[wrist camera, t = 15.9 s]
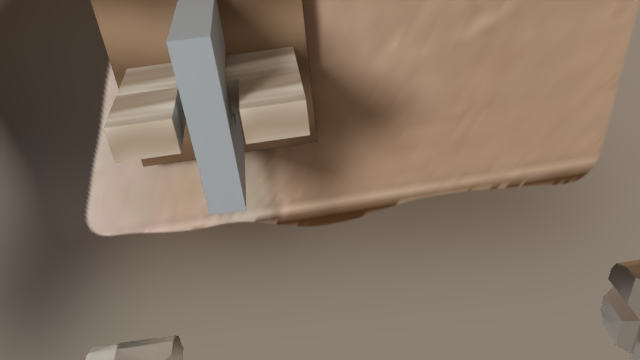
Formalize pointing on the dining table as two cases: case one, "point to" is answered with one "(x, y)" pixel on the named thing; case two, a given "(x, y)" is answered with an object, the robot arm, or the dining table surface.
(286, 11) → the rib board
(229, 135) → the slotted plate
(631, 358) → the robot arm
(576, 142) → the dining table surface
